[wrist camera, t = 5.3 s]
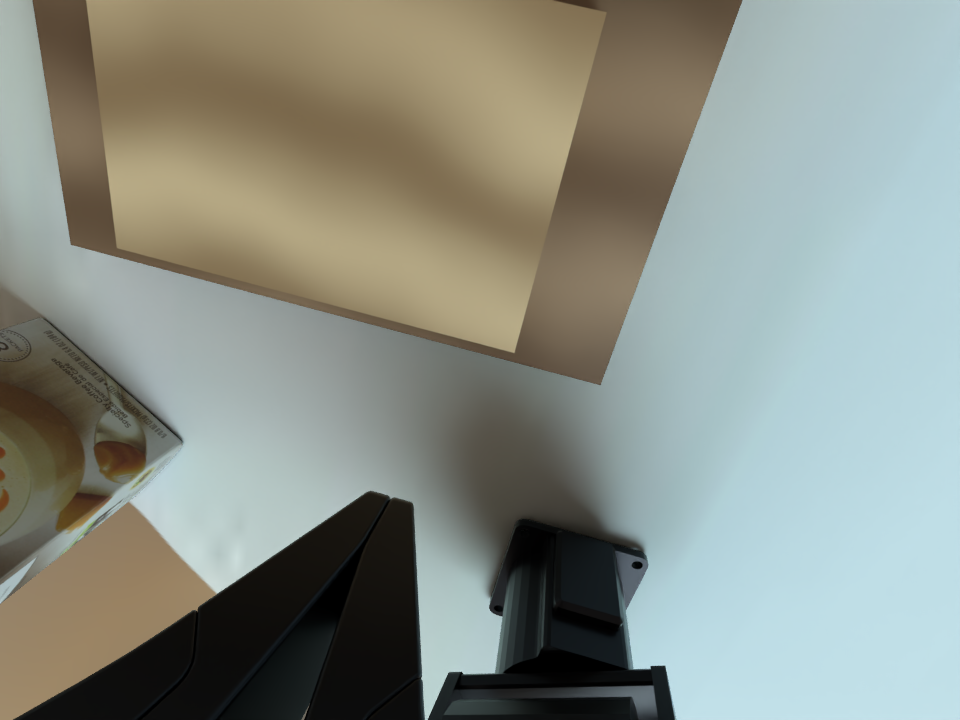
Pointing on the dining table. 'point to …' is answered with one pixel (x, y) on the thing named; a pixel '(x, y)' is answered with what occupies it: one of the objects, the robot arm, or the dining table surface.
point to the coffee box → (64, 449)
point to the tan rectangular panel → (346, 146)
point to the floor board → (581, 196)
